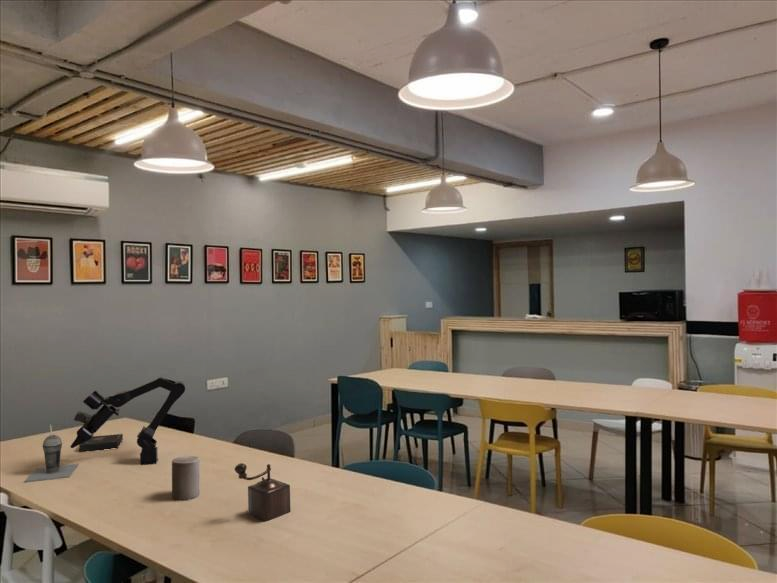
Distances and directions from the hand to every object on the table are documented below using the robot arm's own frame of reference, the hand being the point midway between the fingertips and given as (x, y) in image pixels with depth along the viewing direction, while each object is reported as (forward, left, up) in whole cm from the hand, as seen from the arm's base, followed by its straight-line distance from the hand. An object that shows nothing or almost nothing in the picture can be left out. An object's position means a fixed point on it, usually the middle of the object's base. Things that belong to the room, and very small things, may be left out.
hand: (73, 444), depth 234 cm
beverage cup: (+8, +1, -11) cm, 13 cm away
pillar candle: (-51, +47, -11) cm, 71 cm away
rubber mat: (+8, +1, -11) cm, 14 cm away
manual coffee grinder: (-78, +74, -12) cm, 108 cm away
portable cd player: (-1, -41, -12) cm, 42 cm away
